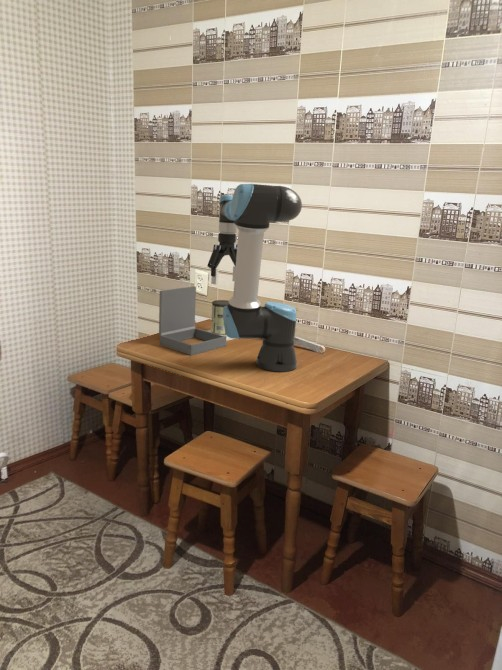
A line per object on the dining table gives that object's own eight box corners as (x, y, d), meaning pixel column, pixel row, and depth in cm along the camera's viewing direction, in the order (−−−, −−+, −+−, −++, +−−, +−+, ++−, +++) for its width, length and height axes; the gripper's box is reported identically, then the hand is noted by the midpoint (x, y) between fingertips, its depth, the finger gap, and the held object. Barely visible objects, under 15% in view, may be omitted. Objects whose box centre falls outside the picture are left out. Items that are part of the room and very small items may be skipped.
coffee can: (231, 330, 241) (233, 300, 238) (235, 336, 232) (237, 304, 228) (209, 330, 239) (210, 299, 235) (212, 336, 229) (213, 304, 226)
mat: (247, 335, 237) (247, 334, 236) (223, 341, 224) (223, 340, 224) (221, 328, 246) (221, 327, 246) (196, 333, 234) (196, 332, 234)
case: (226, 346, 218) (228, 293, 213) (191, 355, 203) (193, 299, 198) (193, 336, 230) (194, 286, 224) (157, 344, 215) (158, 290, 209)
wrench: (321, 360, 218) (260, 338, 232) (323, 359, 219) (263, 337, 234) (325, 342, 215) (263, 320, 230) (327, 341, 217) (266, 320, 231)
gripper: (239, 231, 236) (237, 279, 241) (200, 232, 217) (198, 283, 222) (252, 233, 231) (249, 281, 236) (213, 234, 212) (211, 286, 217)
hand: (224, 282), depth 229 cm, fingers open, 13 cm apart
